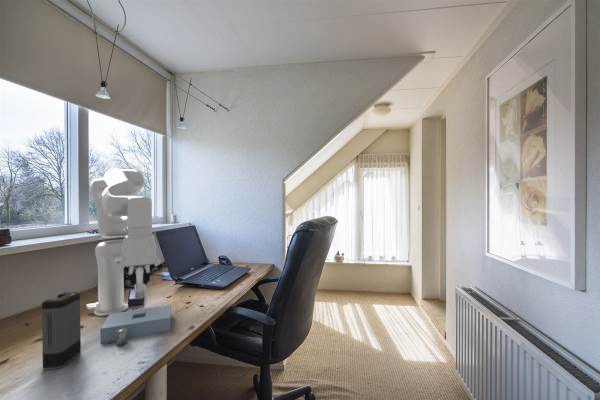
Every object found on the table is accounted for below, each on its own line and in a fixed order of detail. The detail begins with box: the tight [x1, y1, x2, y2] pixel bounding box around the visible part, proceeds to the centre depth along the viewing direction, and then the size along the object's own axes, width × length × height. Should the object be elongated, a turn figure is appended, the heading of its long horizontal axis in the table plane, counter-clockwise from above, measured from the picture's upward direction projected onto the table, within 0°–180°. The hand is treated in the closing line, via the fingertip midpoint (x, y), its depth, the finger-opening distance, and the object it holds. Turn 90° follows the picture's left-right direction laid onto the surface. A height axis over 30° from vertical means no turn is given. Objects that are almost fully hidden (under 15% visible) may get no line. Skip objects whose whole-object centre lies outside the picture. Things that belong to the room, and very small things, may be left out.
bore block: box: [99, 304, 172, 344], centre depth 107 cm, size 22×14×5 cm, turn 114°
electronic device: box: [41, 291, 82, 370], centre depth 86 cm, size 9×6×20 cm, turn 5°
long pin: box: [134, 265, 146, 300], centre depth 96 cm, size 3×3×13 cm
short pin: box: [115, 328, 128, 348], centre depth 95 cm, size 3×3×5 cm
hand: (140, 283), depth 97 cm, fingers closed on long pin, 3 cm apart
